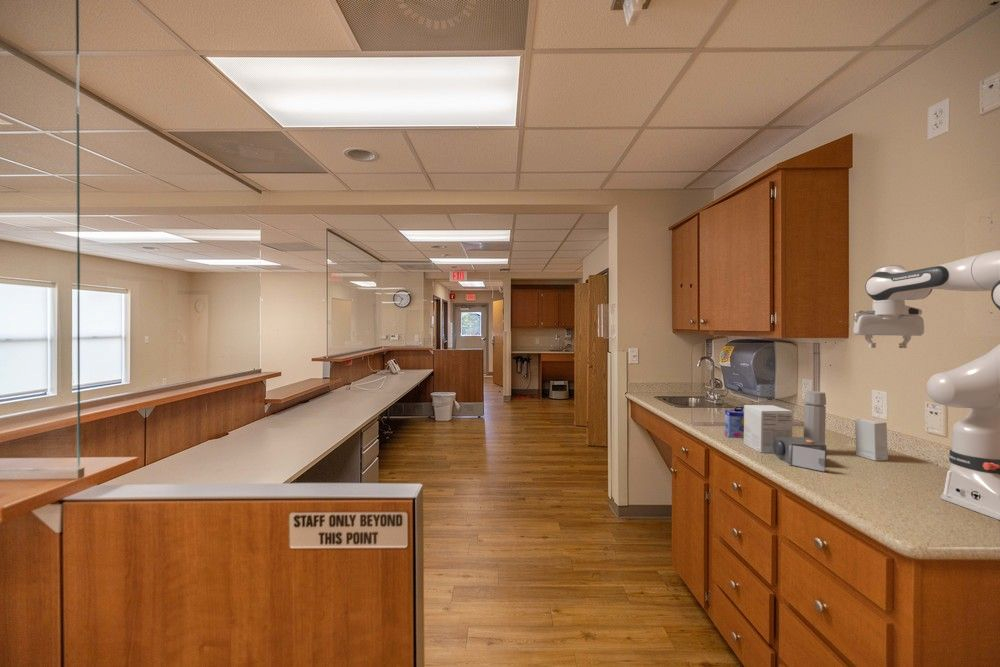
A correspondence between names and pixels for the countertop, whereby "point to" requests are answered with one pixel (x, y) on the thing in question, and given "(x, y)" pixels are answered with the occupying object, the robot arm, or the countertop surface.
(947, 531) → the countertop surface
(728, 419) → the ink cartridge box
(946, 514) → the countertop surface
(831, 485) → the countertop surface
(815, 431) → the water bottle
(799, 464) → the side door
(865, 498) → the countertop surface
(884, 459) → the skincare box
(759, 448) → the supplement box
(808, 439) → the camera housing
